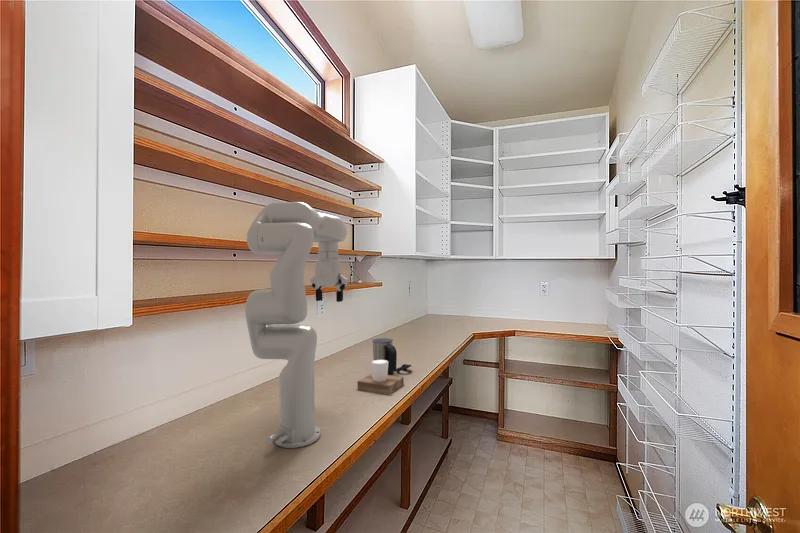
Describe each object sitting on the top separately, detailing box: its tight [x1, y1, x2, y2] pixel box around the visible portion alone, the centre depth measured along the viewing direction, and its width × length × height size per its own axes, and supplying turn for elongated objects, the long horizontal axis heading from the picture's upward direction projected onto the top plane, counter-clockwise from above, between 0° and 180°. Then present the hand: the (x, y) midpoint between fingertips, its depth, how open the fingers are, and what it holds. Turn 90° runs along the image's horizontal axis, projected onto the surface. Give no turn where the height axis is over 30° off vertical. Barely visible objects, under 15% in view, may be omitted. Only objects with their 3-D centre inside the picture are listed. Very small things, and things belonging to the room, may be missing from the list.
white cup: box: [370, 359, 388, 382], centre depth 143 cm, size 7×7×7 cm
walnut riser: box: [357, 373, 405, 395], centre depth 143 cm, size 12×14×3 cm
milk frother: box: [372, 337, 412, 375], centre depth 162 cm, size 14×16×15 cm
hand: (329, 301), depth 140 cm, fingers open, 9 cm apart
